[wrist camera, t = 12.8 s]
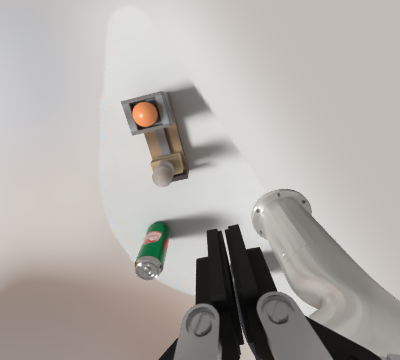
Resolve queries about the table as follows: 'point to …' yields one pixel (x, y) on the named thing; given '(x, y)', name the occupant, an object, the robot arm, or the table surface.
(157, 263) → the soda can
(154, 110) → the button
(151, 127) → the stand
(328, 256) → the robot arm
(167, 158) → the carriage
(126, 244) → the table surface
